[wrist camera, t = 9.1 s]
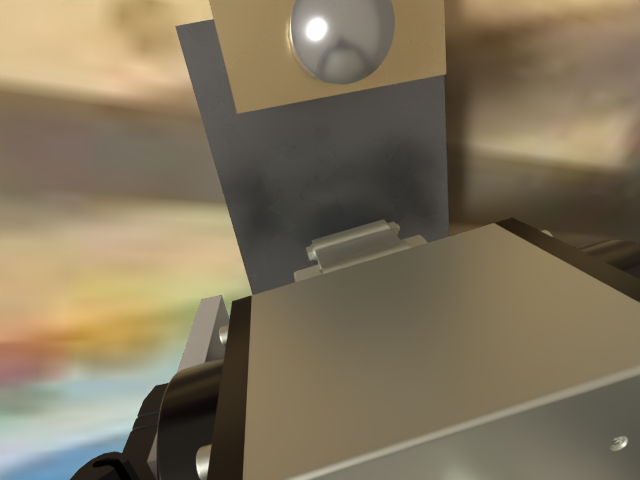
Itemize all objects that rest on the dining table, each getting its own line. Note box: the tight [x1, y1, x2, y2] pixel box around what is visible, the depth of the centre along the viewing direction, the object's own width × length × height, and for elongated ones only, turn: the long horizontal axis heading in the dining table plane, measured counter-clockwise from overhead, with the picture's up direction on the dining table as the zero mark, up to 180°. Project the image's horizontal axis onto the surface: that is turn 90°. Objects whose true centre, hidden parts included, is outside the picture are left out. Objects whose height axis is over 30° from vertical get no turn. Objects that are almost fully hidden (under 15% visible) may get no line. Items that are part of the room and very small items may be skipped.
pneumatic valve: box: [156, 218, 640, 480], centre depth 11 cm, size 6×12×12 cm, turn 104°
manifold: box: [175, 0, 449, 295], centre depth 16 cm, size 21×10×8 cm, turn 10°
